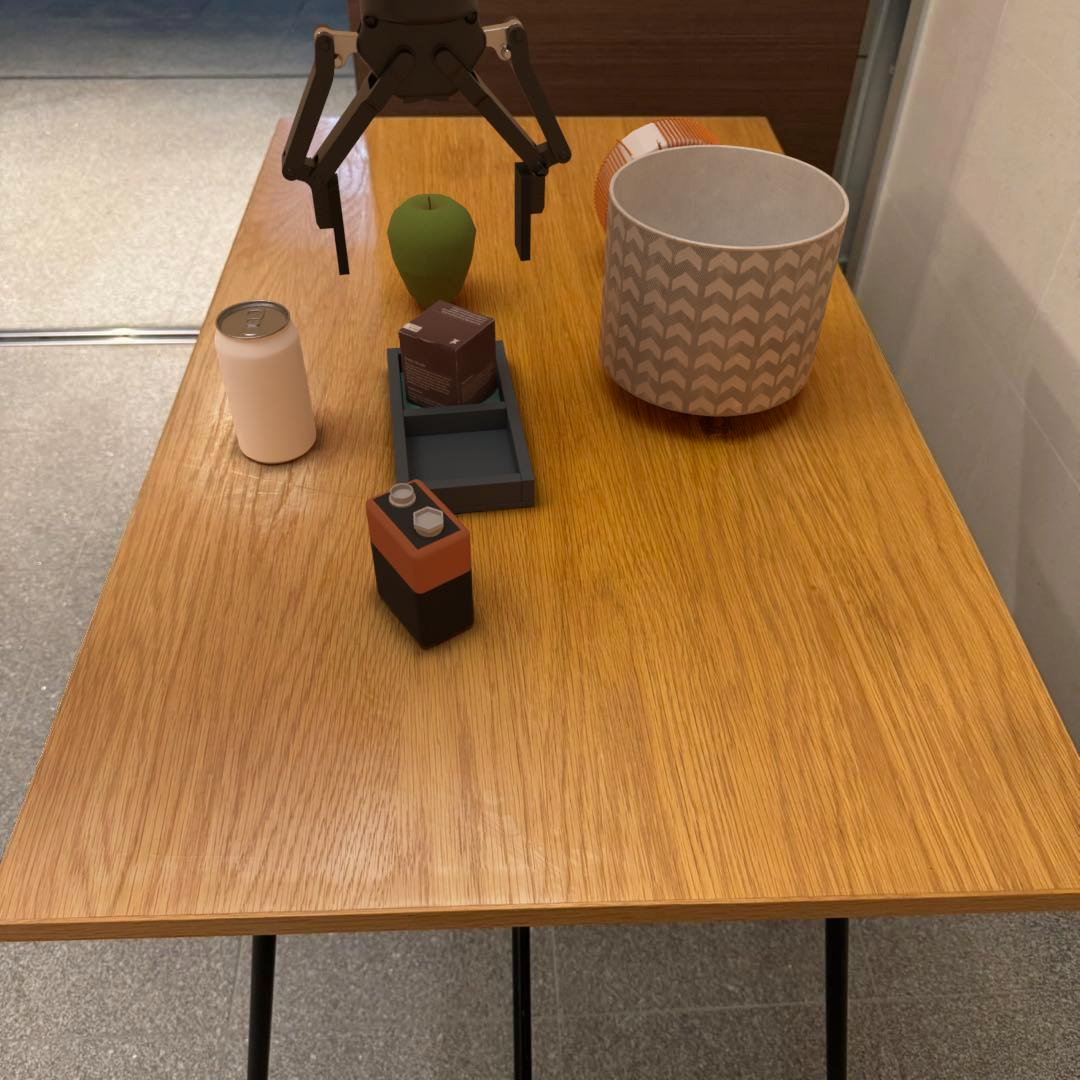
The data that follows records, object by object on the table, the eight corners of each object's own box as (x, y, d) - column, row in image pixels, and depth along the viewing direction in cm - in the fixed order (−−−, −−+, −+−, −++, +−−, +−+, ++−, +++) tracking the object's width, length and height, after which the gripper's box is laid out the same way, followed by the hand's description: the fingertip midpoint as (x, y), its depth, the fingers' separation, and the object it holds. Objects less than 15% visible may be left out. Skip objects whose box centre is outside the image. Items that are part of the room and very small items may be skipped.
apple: (487, 320, 99) (484, 210, 91) (403, 332, 98) (393, 220, 90) (467, 278, 105) (462, 171, 98) (388, 289, 104) (377, 181, 96)
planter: (598, 442, 85) (611, 244, 73) (596, 324, 99) (606, 141, 87) (821, 448, 85) (872, 251, 73) (787, 329, 99) (826, 146, 86)
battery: (423, 653, 68) (412, 547, 61) (375, 594, 72) (359, 488, 65) (477, 625, 70) (472, 520, 63) (427, 569, 74) (417, 464, 67)
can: (234, 468, 82) (203, 342, 74) (244, 421, 87) (215, 298, 79) (314, 464, 83) (291, 339, 74) (320, 418, 87) (299, 295, 79)
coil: (589, 255, 110) (596, 117, 99) (721, 245, 112) (741, 109, 101) (603, 286, 105) (611, 145, 94) (740, 276, 107) (763, 136, 96)
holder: (400, 518, 78) (397, 491, 76) (389, 374, 92) (386, 348, 90) (534, 506, 79) (534, 479, 77) (502, 365, 94) (502, 339, 92)
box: (499, 390, 89) (497, 318, 84) (459, 424, 86) (455, 351, 80) (444, 369, 92) (439, 297, 87) (403, 401, 88) (396, 328, 83)
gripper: (598, -79, 66) (583, 225, 80) (208, -69, 62) (266, 248, 77) (627, -51, 60) (605, 270, 75) (202, -38, 57) (265, 297, 71)
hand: (434, 259), depth 76 cm, fingers open, 13 cm apart
